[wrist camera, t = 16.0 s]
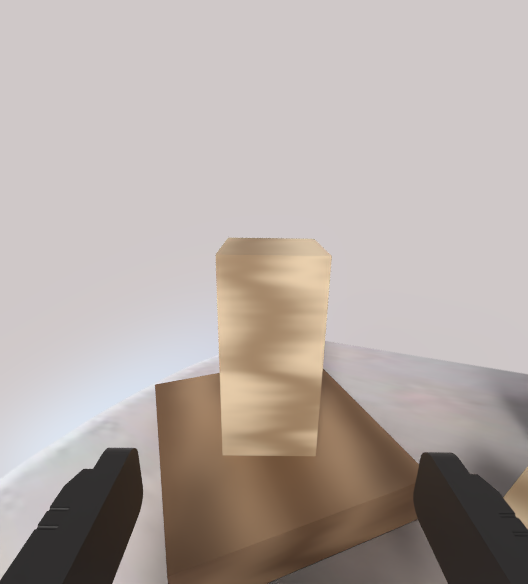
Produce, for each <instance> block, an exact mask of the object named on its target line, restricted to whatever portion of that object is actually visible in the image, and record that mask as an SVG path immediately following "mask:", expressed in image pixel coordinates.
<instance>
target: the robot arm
mask: <svg viewBox="0 0 528 584" xmlns="http://www.w3.org/2000/svg"><path fill="white" fill-rule="evenodd" d="M142 499H143V485H142V478H141V470H140V463H139V456H138V451H137V449H136V448H107V449H106V450H105V451H104V452H103V454H102V455H101V457H100V459H99V460H98V462H97V464H96V465H95V467H94V468H93V469H83V470H82V471H81V472H79V473H78V474H77V475H76V476H75V477H74V478H73V479H72V480H70V481H69V482H68V483H67V484H66V485H65V486H64V487H63V488H62V490H61V491H60V493H59V494H58V496H57V497H56V499H55V500H54V502H53V503H52V505H51V506H50V510H49V511H47V512H46V514H45V515H44V517H43V518H42V519H41V521H40V522H39V524H38V527H37V529H36V530H34V531H33V533H32V534H31V536H30V537H29V539H28V540H27V542H26V543H25V545H24V546H23V548H22V549H21V551H20V552H19V553H18V555H17V556H16V558H15V559H14V561H13V562H12V564H11V565H10V567H9V568H8V570H7V571H6V573H5V574H4V576H3V577H2V579H1V580H0V584H112V583H113V580H114V578H115V575H116V572H117V570H118V567H119V565H120V562H121V560H122V557H123V554H124V552H125V549H126V547H127V544H128V541H129V539H130V536H131V534H132V531H133V528H134V526H135V523H136V521H137V518H138V515H139V512H140V509H141V505H142ZM413 501H414V508H415V512H416V515H417V518H418V520H419V522H420V524H421V527H422V529H423V531H424V533H425V535H426V537H427V539H428V542H429V544H430V546H431V548H432V550H433V552H434V554H435V557H436V559H437V561H438V563H439V565H440V567H441V569H442V572H443V574H444V576H445V578H446V580H447V582H448V584H528V529H527V528H526V527H525V525H524V524H523V523H522V521H521V520H520V519H519V518H517V517H516V516H515V512H514V511H513V510H512V509H511V507H510V506H509V505H508V503H507V502H506V501H505V499H504V498H503V497H502V496H501V494H500V493H499V492H498V491H497V490H496V489H494V488H493V487H492V486H491V485H490V484H488V483H487V482H486V481H485V480H483V479H482V478H481V477H480V476H479V475H473V474H470V473H469V472H468V471H467V469H466V468H465V466H464V465H463V464H462V462H461V461H460V460H459V458H458V457H457V456H456V455H455V454H453V453H428V452H424V453H423V454H422V455H421V458H420V463H419V468H418V473H417V477H416V482H415V487H414V492H413Z"/></svg>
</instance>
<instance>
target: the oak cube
mask: <svg viewBox="0 0 528 584" xmlns="http://www.w3.org/2000/svg"><path fill="white" fill-rule="evenodd" d="M503 498H504V499H505V501H506V502H507V503H508V505H509V506H510V507H511V509H512V510H513V511H514V512H515V516H516V517H517V518H519V519H520V520H521V521H522V523H523V524H524V525H525V527H526V528H527V529H528V467H527V468H526V469H525V471H524V472H523V473H522V474H521V476H520V477H519V478H518V479H517V481H516V482H515V483H514V485H513V486H512V487H511V488H510V490H509V491H508V492H507V493H506V495H505V496H504V497H503Z"/></svg>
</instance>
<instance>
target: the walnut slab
mask: <svg viewBox="0 0 528 584" xmlns="http://www.w3.org/2000/svg"><path fill="white" fill-rule="evenodd" d="M155 391H156V406H157V422H158V438H159V453H160V469H161V485H162V500H163V516H164V532H165V547H166V563H167V578H168V584H266V583H269V582H271V581H274V580H276V579H278V578H281V577H283V576H285V575H288V574H290V573H292V572H295V571H297V570H299V569H302V568H304V567H306V566H309V565H311V564H314V563H316V562H318V561H321V560H323V559H325V558H328V557H330V556H332V555H335V554H337V553H339V552H342V551H344V550H346V549H349V548H351V547H354V546H356V545H358V544H361V543H363V542H365V541H368V540H370V539H372V538H375V537H377V536H379V535H382V534H384V533H387V532H389V531H391V530H394V529H396V528H398V527H401V526H403V525H405V524H408V523H410V522H412V521H415V520H417V519H418V518H417V515H416V512H415V508H414V501H413V492H414V487H415V482H416V477H417V473H418V468H419V464H418V463H417V462H416V461H415V460H414V459H413V458H412V457H411V456H410V455H409V454H408V453H407V452H406V451H405V450H404V449H403V448H402V447H401V446H400V445H399V444H398V443H397V442H396V441H395V440H394V439H393V438H392V437H391V436H390V435H389V434H388V433H387V432H386V431H385V430H384V429H383V428H382V427H381V426H380V425H379V424H378V423H377V422H376V421H375V420H374V419H373V418H372V417H371V416H370V415H369V414H368V413H367V412H366V411H365V410H364V409H363V408H362V407H361V406H360V405H359V404H358V403H357V402H356V401H355V400H354V399H353V398H352V397H351V396H350V395H349V394H348V393H347V392H346V391H345V390H344V389H343V388H342V387H341V386H340V385H339V384H338V383H337V382H336V381H335V380H334V379H333V378H332V377H331V376H330V375H329V374H328V373H327V372H326V371H325V370H324V369H323V371H322V383H321V396H320V408H319V421H318V433H317V446H316V456H235V455H223V453H222V424H221V395H220V373H217V374H211V375H206V376H200V377H195V378H189V379H184V380H178V381H173V382H167V383H162V384H156V385H155Z"/></svg>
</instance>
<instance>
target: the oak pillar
mask: <svg viewBox="0 0 528 584" xmlns="http://www.w3.org/2000/svg"><path fill="white" fill-rule="evenodd" d="M331 258H332V256H331V255H330V254H329V253H328V252H327V251H326V250H325V249H324V248H323V247H322V246H321V245H320V244H319V243H318V242H317V241H316V240H315V239H282V238H281V239H278V238H228V239H227V240H226V241H225V243H224V244H223V245H222V247H221V248H220V249H219V251H218V252H217V253H216V278H217V306H218V307H217V308H218V335H219V366H220V395H221V424H222V453H223V455H235V456H316V446H317V433H318V421H319V408H320V396H321V383H322V371H323V358H324V346H325V333H326V321H327V308H328V295H329V283H330V271H331Z"/></svg>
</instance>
